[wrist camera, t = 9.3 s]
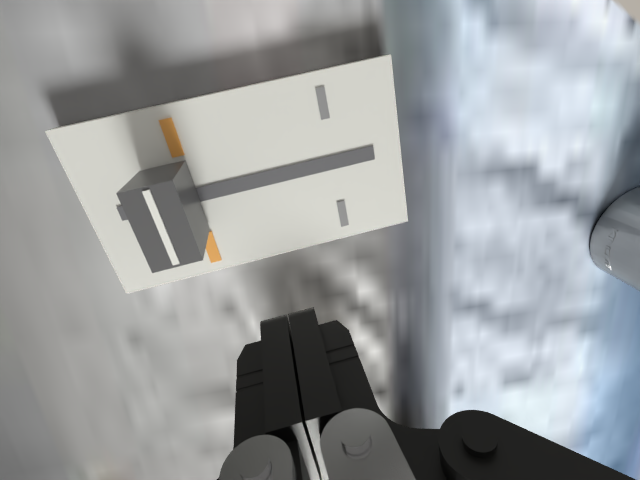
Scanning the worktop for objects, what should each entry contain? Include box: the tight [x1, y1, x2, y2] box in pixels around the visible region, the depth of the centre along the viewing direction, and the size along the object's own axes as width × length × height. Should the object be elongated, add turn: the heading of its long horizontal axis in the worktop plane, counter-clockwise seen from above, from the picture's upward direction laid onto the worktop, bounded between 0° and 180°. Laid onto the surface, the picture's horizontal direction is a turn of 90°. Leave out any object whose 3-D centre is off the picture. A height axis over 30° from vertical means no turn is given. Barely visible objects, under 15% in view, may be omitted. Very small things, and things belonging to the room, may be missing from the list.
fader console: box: [45, 55, 408, 294], centre depth 27 cm, size 22×12×2 cm, turn 101°
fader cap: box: [116, 160, 210, 273], centre depth 24 cm, size 3×5×5 cm, turn 11°
